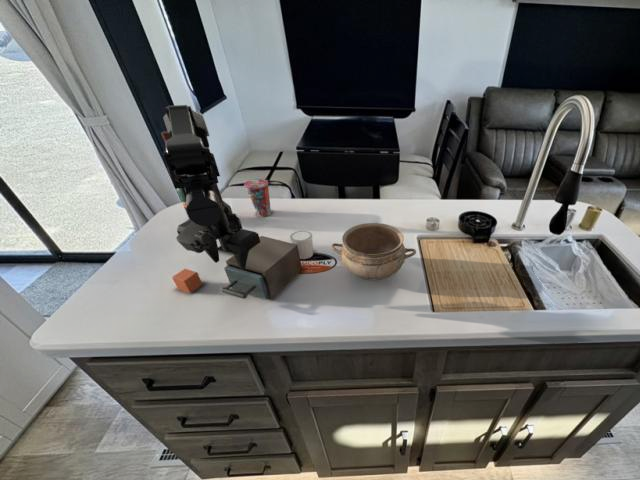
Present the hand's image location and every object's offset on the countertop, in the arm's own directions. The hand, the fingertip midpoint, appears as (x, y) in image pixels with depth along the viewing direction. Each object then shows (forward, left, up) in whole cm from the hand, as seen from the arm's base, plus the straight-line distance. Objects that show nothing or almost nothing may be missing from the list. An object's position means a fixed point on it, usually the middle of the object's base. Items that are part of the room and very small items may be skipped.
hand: (230, 265), depth 80 cm
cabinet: (0, +11, -12) cm, 17 cm away
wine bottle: (-46, +31, -12) cm, 57 cm away
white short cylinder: (+2, +26, -12) cm, 29 cm away
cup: (-28, +44, -12) cm, 54 cm away
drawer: (0, +7, -11) cm, 13 cm away
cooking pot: (+27, +26, -12) cm, 40 cm away
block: (-18, -1, -12) cm, 22 cm away
